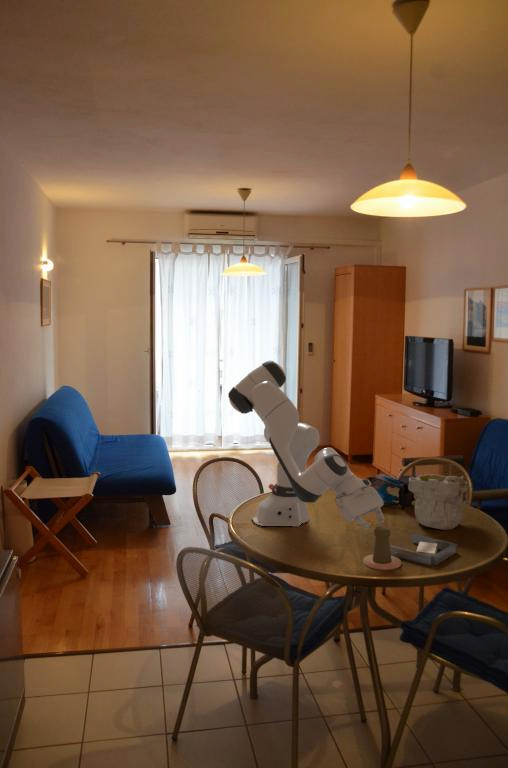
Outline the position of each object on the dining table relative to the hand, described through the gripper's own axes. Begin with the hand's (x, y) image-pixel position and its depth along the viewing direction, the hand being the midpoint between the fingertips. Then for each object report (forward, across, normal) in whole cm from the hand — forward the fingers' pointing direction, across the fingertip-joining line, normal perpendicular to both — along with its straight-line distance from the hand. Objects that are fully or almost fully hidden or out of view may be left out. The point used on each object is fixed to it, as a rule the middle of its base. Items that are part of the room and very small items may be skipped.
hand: (375, 524), depth 213 cm
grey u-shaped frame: (+15, +15, +2) cm, 22 cm away
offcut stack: (+16, +15, +1) cm, 22 cm away
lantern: (-13, +60, +31) cm, 69 cm away
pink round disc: (+11, -1, +6) cm, 12 cm away
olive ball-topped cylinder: (+10, -1, +6) cm, 12 cm away
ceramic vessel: (+9, +50, +9) cm, 52 cm away
